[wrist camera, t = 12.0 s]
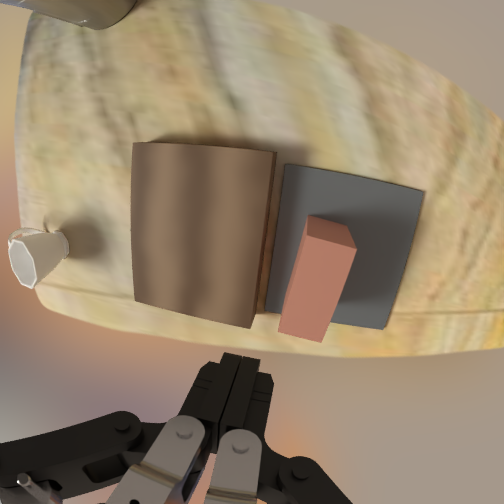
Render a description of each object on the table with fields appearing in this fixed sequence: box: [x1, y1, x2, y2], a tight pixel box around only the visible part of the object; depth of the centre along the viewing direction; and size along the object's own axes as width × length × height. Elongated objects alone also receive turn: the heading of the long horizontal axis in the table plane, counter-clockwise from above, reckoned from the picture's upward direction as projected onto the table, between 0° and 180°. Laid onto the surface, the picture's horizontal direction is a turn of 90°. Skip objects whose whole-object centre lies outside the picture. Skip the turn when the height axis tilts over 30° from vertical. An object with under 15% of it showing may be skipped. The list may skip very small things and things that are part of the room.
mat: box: [265, 164, 423, 330], centre depth 29 cm, size 14×16×1 cm
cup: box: [8, 228, 69, 289], centre depth 33 cm, size 7×10×8 cm
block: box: [278, 215, 357, 342], centre depth 26 cm, size 7×9×4 cm
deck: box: [131, 142, 277, 329], centre depth 30 cm, size 14×18×3 cm
